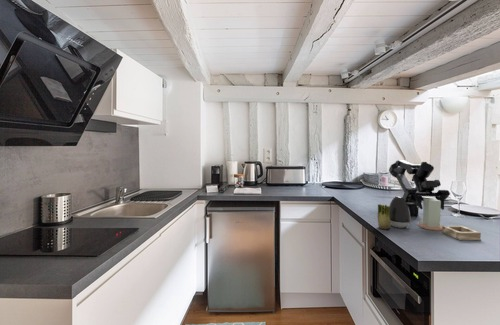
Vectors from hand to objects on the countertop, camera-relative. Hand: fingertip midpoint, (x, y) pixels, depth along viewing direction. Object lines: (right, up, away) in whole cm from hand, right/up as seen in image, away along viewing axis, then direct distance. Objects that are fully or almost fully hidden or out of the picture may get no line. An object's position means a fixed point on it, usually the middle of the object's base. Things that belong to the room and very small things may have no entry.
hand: (432, 209), depth 114 cm
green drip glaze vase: (-24, -10, 0) cm, 26 cm away
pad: (0, -9, +1) cm, 9 cm away
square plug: (0, -8, +1) cm, 8 cm away
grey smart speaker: (-15, -9, +3) cm, 18 cm away
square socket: (+4, -10, -10) cm, 15 cm away
